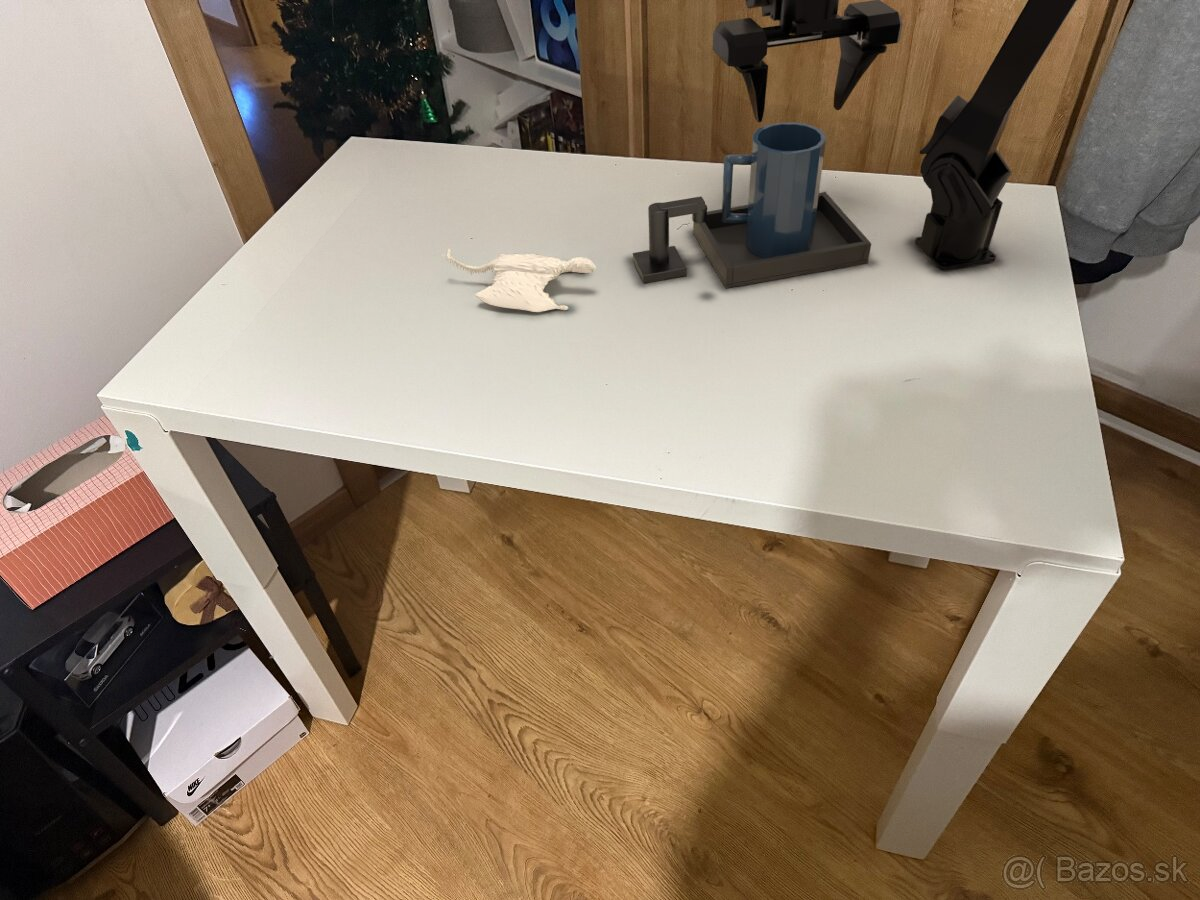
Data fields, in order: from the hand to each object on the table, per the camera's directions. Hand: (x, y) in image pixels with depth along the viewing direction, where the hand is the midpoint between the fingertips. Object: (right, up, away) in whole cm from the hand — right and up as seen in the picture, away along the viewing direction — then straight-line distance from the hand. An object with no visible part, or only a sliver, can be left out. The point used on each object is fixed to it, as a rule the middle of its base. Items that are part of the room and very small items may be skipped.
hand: (797, 114), depth 91 cm
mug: (-3, -14, +3) cm, 14 cm away
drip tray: (-2, -14, +3) cm, 14 cm away
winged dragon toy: (-31, -19, +1) cm, 37 cm away
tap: (-14, -16, +2) cm, 22 cm away
